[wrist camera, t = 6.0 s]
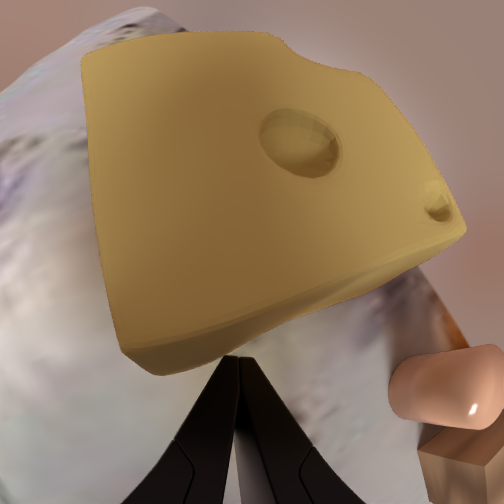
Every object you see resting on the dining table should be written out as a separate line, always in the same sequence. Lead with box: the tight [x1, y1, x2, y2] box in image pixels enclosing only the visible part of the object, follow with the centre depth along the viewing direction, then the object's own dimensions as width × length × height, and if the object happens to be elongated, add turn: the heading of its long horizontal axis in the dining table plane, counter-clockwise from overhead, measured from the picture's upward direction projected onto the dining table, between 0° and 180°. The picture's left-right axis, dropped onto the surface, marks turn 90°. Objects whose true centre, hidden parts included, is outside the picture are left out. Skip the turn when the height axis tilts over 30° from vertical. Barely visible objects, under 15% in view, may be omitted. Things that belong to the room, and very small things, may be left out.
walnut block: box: [417, 409, 504, 504], centre depth 11 cm, size 5×5×6 cm
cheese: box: [81, 31, 467, 376], centre depth 12 cm, size 10×11×10 cm
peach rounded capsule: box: [388, 344, 504, 430], centre depth 12 cm, size 4×4×6 cm
